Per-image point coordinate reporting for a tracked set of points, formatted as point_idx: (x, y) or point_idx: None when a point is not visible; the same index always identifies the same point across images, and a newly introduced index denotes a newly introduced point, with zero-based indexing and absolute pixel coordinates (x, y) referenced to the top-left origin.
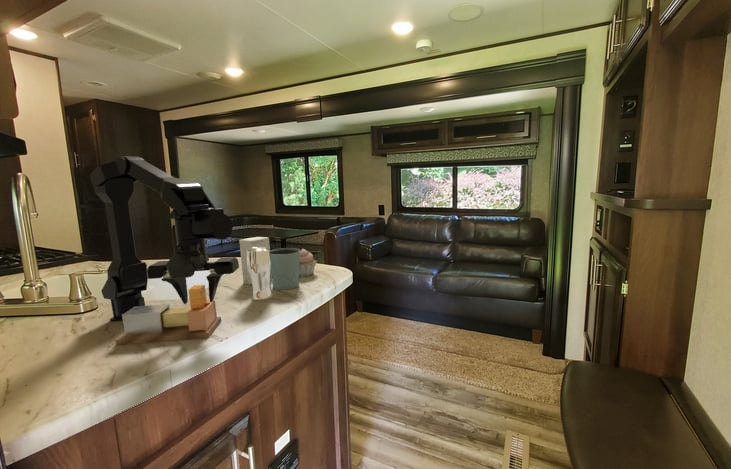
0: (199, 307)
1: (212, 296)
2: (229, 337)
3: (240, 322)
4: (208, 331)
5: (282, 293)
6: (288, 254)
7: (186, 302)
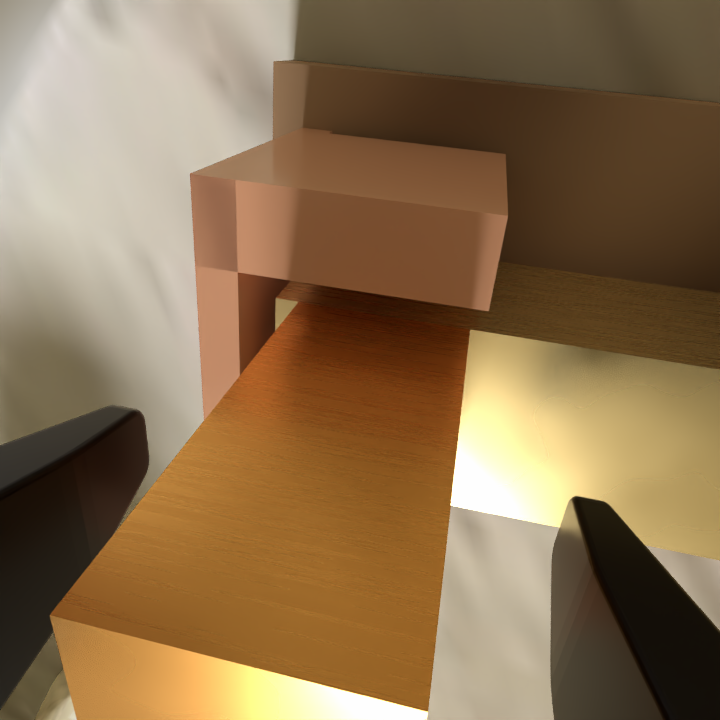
0: (316, 339)
1: (9, 446)
2: (76, 4)
3: (109, 341)
4: (279, 99)
5: (15, 704)
6: None
7: (563, 528)
